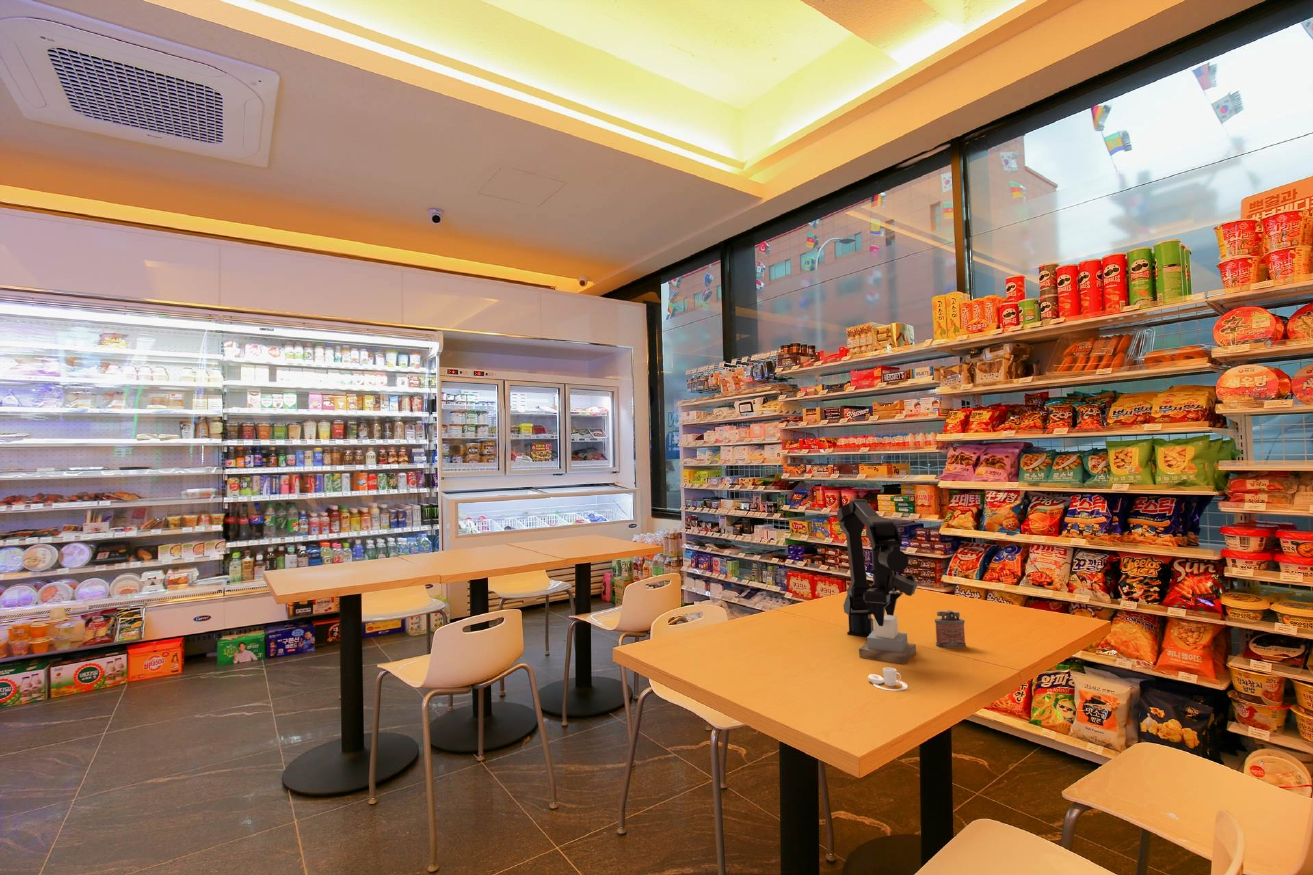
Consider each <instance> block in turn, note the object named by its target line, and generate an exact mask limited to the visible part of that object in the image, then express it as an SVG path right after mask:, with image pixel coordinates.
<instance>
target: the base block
mask: <svg viewBox="0 0 1313 875" xmlns="http://www.w3.org/2000/svg"><path fill="white" fill-rule="evenodd" d="M916 649H917V647H916V643H910V642H908V644H907V646H906V647H905V649H904V651H903V652H902V653H900V652H891V651H883V650H875V649H868V648H867V642H865V643H864V644H863V645H862V646H860V647H859V648H858V654H859V655H858V657H859V658H863V659H868V660H869V659H870V660H876V661H881V662H887V663H895V664H902V665H906V664H907V663H908V661H910V660H911V658H912V657H913V656H914V655H915V654H916V653H917V650H916Z"/></svg>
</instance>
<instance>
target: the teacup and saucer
mask: <svg viewBox="0 0 1313 875" xmlns="http://www.w3.org/2000/svg"><path fill="white" fill-rule="evenodd" d="M897 671H898V670H897V669H896V668H894V667H890V666H886V667H883V668H882V674H883V676H881V675H879V674H871V673H870V674H869V675H868V676H867V679H868V681H869V682H871V683H872V686H873V687H875V688H877V689H879V690H883V691H892V692H893V691H894V692H897V691H898V692H899V691H904V690H907V689H908V687H909V686H908V684H907V683H906V682H904V681H902V680H901V679H902V675H901V673H900V672H897ZM897 675H898V676H899V679H897ZM883 683H884V684H885V686H886V687H895V686H896V685H898V684H901V685H902V687H900V688H892V689H891V688H886V687H882V686H880V685H883Z"/></svg>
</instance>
